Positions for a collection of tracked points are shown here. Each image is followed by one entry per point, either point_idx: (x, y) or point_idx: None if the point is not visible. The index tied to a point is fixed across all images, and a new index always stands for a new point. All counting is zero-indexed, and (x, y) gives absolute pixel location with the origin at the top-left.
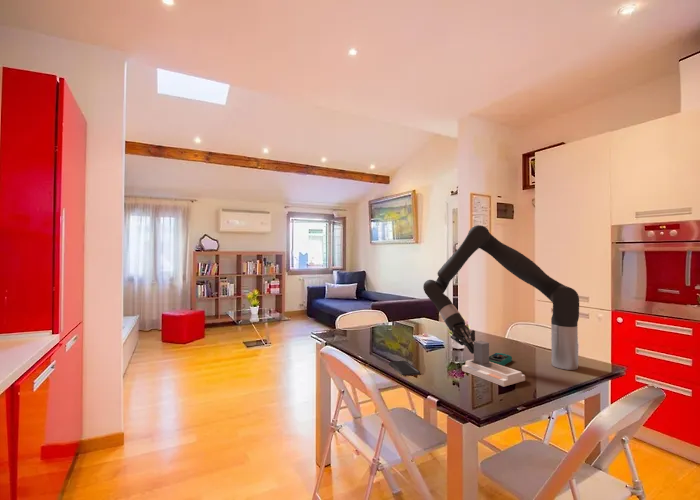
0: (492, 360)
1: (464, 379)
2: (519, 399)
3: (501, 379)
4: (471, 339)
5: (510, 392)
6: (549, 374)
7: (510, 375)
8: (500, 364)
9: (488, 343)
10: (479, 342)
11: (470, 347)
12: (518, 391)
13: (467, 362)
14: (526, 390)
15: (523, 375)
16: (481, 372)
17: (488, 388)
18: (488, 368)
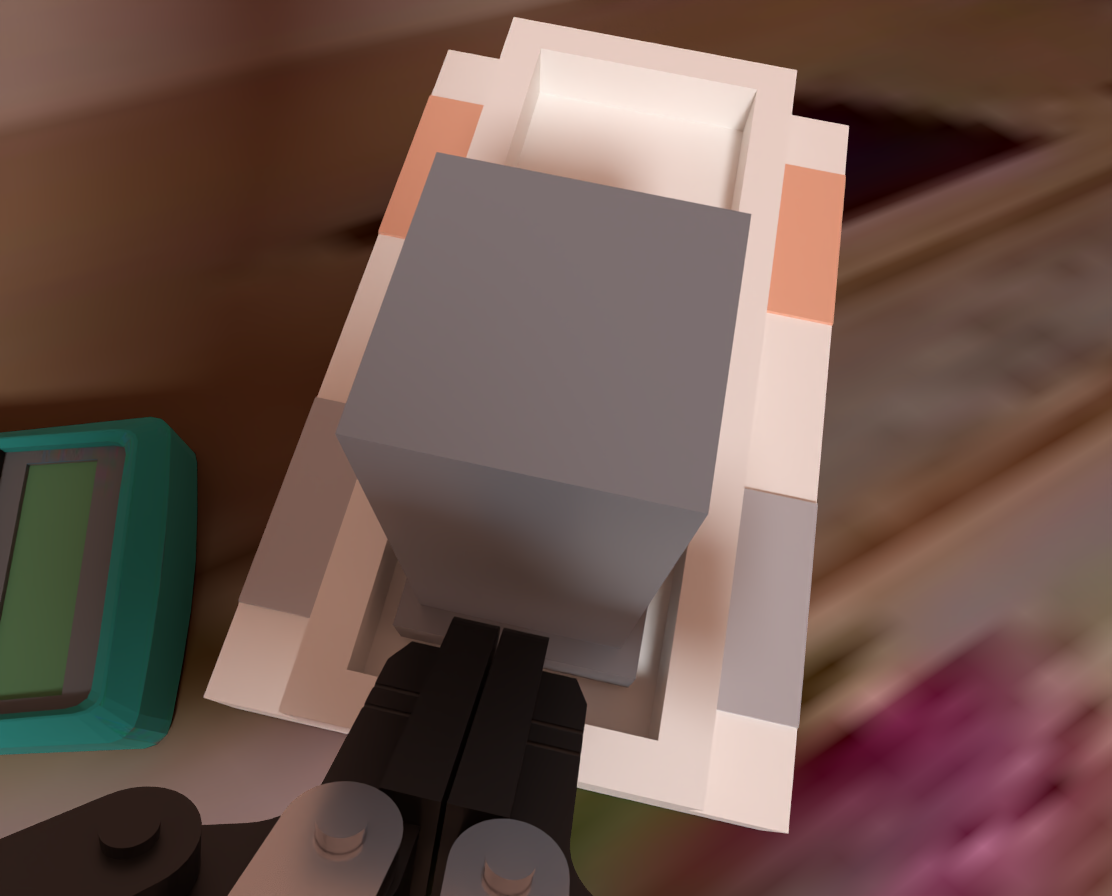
0: (1, 603)
1: (1048, 575)
2: (973, 5)
3: (825, 155)
4: (253, 885)
5: (900, 91)
6: (37, 12)
7: (732, 65)
8: (150, 421)
9: (464, 167)
10: (632, 343)
11: (570, 754)
12: (810, 58)
13: (705, 752)
14: (720, 25)
15: (475, 56)
16: (811, 416)
17: (1012, 253)
18: (740, 319)
